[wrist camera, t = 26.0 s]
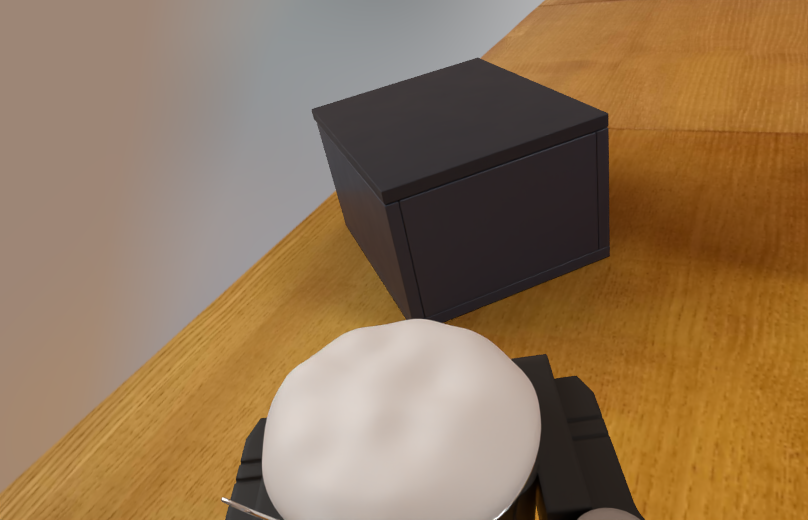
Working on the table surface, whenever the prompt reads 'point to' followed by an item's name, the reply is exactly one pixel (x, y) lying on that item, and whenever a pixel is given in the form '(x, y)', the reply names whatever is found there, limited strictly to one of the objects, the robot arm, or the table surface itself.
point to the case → (482, 227)
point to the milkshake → (403, 430)
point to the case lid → (450, 126)
